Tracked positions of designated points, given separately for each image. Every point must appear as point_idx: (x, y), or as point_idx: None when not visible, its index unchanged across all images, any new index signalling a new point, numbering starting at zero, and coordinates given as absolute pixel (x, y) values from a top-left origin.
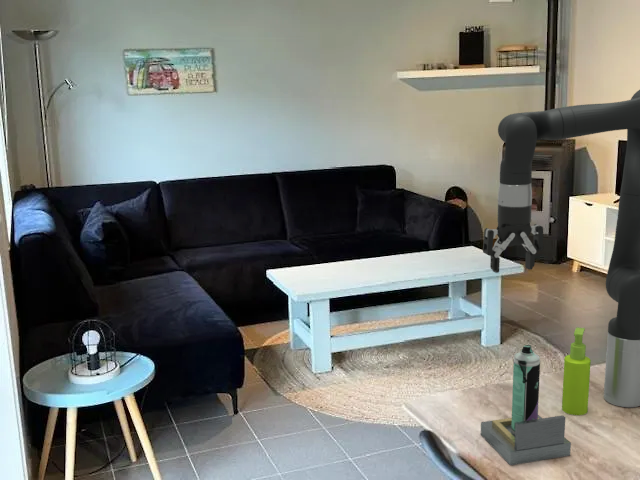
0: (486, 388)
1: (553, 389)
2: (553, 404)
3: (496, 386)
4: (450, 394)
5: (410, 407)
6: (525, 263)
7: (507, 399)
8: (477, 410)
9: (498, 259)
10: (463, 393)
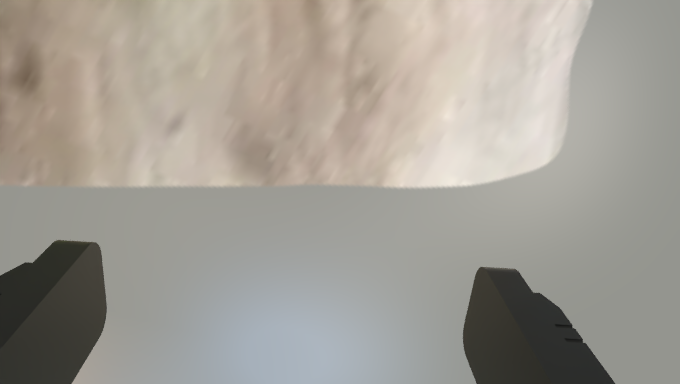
0: (312, 170)
1: (130, 94)
2: (182, 4)
3: (279, 171)
4: (424, 172)
5: (562, 142)
6: (88, 353)
7: (294, 87)
8: (412, 57)
9: (561, 367)
10: (388, 165)
